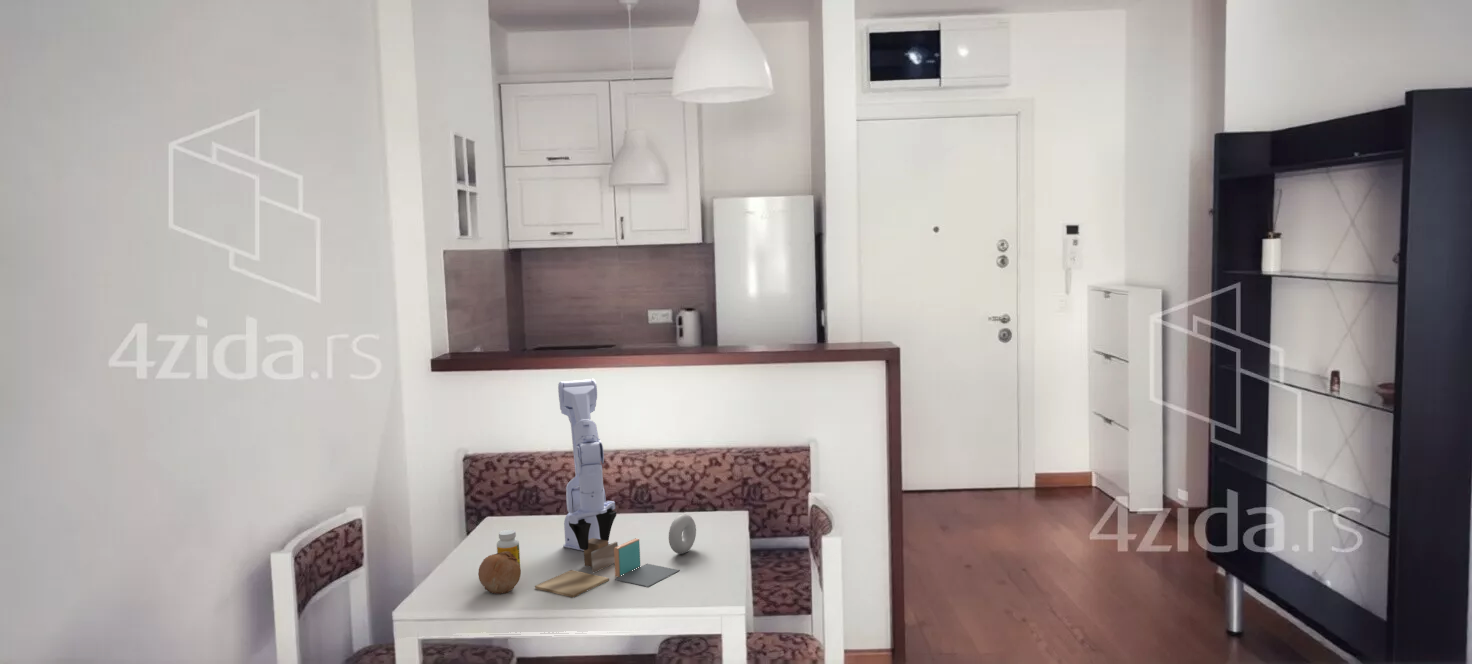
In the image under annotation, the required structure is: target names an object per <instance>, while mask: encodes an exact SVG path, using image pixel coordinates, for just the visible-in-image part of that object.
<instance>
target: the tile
mask: <svg viewBox="0 0 1472 664" xmlns="http://www.w3.org/2000/svg"><path fill="white" fill-rule="evenodd" d="M640 545H641V544H640V538H633V539H631V540H627V541H626V542H624V543H622V544H618V546H617V547H615V548H614V560H615V563H614V576H615V577H616V576H618V577H620V576H621V575H623V574H626V573H628V572H630V571H632V570H634V569H636V568H638V567H640V566H641V547H640ZM618 577H617V578H618Z"/></svg>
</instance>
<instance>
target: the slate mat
mask: <svg viewBox="0 0 1472 664" xmlns="http://www.w3.org/2000/svg"><path fill="white" fill-rule="evenodd" d="M640 566H641V567H639V568H637V569H635V570H633V571H630V572H628V573H626V574H624V575H622V576H620V577H616V578H615V579H614V580H615V581H619V582H622V581H623V583H628V584H632V585H636V584H637V585H638V586H642V587H646V588H649V587H651V586H653V585H655V584H657V583H658V582H661V581H663V580H664V579H666V578H669V577H670V576H672V575H674V574H676V573H678V572H680V569H676V568H671V567H665V566H661V565H655V564H651V563H645V564H643V565H640ZM668 576H669V577H668Z"/></svg>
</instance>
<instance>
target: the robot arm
mask: <svg viewBox="0 0 1472 664" xmlns="http://www.w3.org/2000/svg"><path fill="white" fill-rule="evenodd" d="M557 385H558V387H557V388H558V390H557V391H558V400H559V409H560V411H561V412H560V413H561V414H562V415H564V416H567V418H568V420H569V423H570V429H571V439H572V440H571V441H572V451H573V453H572V454H573V462H574V472H575V476H573V478H571V479H570V481H569V482H567V484H566V488H565V491H566V493H565V494H566V496H565V498H566V499H565V500H566V501H565V502H566V509H567V512H568V513H567V514H566V515H565V518H564V523H563V525H564V526H563V527H564V529H563V530H564V544H563V545H562V546H563V548H568V549H573V550H576V551H577V550H578V551H583V552H584V550H587V549H588V540H589V539H592V538H596V539H601V540H606V541H608V545H609V544H610V541H609V540H610V535H611V531H612V526H613V523H614V521H615V519H616V517H617V511H614V510H615V509H616V502H615V501H614V500H613V501H612V500H607V499H606V490H605V488H604V479H603V465H604V462H605V461H604V460H605V450H604V446H603V443H602V440H601V438H599V433H598V428H597V424H596V423H595V422H594V420H591V413H593V412H595V409H596V406H597V400H598V386H597V381H596V380H595V379H594V378H591V379H581V380H567V381H566V380H565V381H563V380H561V381H559V382H558V384H557Z"/></svg>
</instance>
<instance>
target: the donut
mask: <svg viewBox="0 0 1472 664" xmlns="http://www.w3.org/2000/svg"><path fill="white" fill-rule="evenodd" d="M696 526H697V525H696V522H695V520H694V518H693V517H692V516H691V515H689V514H687V513H683V514H679V515H677V516H676V517H675V518H674V519H673V520H672V522H671V524H670V526H669V531H668V543H669V546H670V549H671V550H672V551H673V552H674V553H676V554H679V555H683V554H686V553H688V551H690V550H691V549H692V547H693V545H694V543H695V540H696V536H697V527H696Z"/></svg>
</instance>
